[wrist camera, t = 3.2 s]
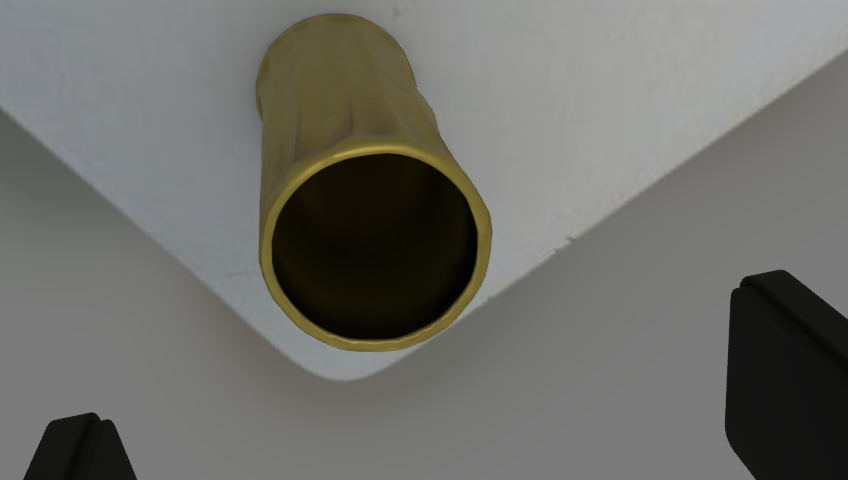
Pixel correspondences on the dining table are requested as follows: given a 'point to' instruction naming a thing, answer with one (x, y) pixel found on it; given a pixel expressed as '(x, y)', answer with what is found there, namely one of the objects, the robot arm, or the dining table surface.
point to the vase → (361, 192)
